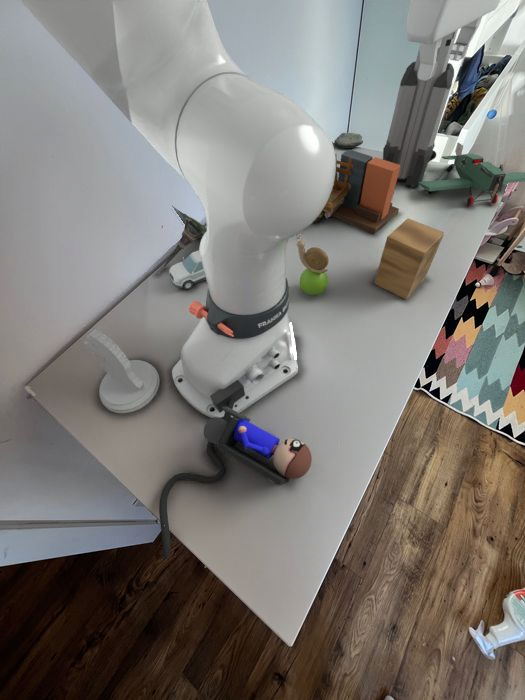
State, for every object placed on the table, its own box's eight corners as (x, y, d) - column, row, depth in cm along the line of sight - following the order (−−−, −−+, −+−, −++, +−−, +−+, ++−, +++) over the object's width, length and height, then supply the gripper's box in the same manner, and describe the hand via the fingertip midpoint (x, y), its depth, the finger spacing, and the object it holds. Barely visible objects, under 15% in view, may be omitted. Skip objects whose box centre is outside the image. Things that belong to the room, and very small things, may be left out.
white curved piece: (128, 354, 61) (89, 295, 49) (171, 375, 58) (140, 317, 46) (88, 398, 56) (34, 344, 44) (132, 423, 53) (87, 373, 41)
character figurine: (229, 413, 54) (314, 463, 48) (200, 451, 50) (289, 510, 44) (224, 386, 47) (321, 440, 42) (190, 426, 44) (293, 491, 38)
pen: (453, 167, 92) (457, 164, 91) (428, 196, 85) (433, 193, 84) (450, 163, 92) (455, 160, 91) (425, 191, 85) (430, 188, 83)
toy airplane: (544, 205, 78) (570, 153, 70) (433, 216, 79) (447, 166, 71) (494, 171, 93) (511, 126, 86) (402, 181, 94) (411, 136, 87)
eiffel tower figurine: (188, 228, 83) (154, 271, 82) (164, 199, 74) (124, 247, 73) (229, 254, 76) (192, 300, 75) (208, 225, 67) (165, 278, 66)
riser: (406, 299, 65) (424, 252, 56) (374, 283, 68) (387, 236, 59) (424, 280, 68) (444, 232, 59) (392, 265, 71) (407, 217, 62)
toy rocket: (375, 183, 89) (415, -9, 61) (381, 167, 93) (422, -19, 65) (421, 190, 86) (486, -10, 57) (425, 173, 90) (488, -20, 62)
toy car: (169, 278, 72) (162, 259, 68) (223, 256, 75) (220, 237, 71) (179, 294, 69) (172, 276, 65) (235, 271, 72) (232, 252, 68)
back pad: (380, 219, 77) (393, 171, 69) (358, 210, 80) (367, 162, 71) (388, 213, 79) (400, 165, 70) (365, 204, 81) (375, 156, 72)
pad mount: (374, 234, 77) (387, 180, 67) (324, 213, 83) (329, 159, 73) (397, 214, 81) (413, 159, 71) (348, 195, 87) (356, 142, 77)
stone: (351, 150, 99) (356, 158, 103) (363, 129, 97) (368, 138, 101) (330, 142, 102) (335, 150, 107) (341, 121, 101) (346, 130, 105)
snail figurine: (302, 277, 70) (304, 226, 61) (331, 287, 68) (338, 235, 58) (289, 293, 68) (290, 243, 58) (319, 304, 65) (324, 254, 56)
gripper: (496, -97, 43) (453, 46, 54) (414, -77, 35) (383, 86, 46) (551, -99, 40) (493, 52, 51) (476, -78, 32) (427, 95, 43)
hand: (441, 68), depth 49 cm, fingers open, 8 cm apart
